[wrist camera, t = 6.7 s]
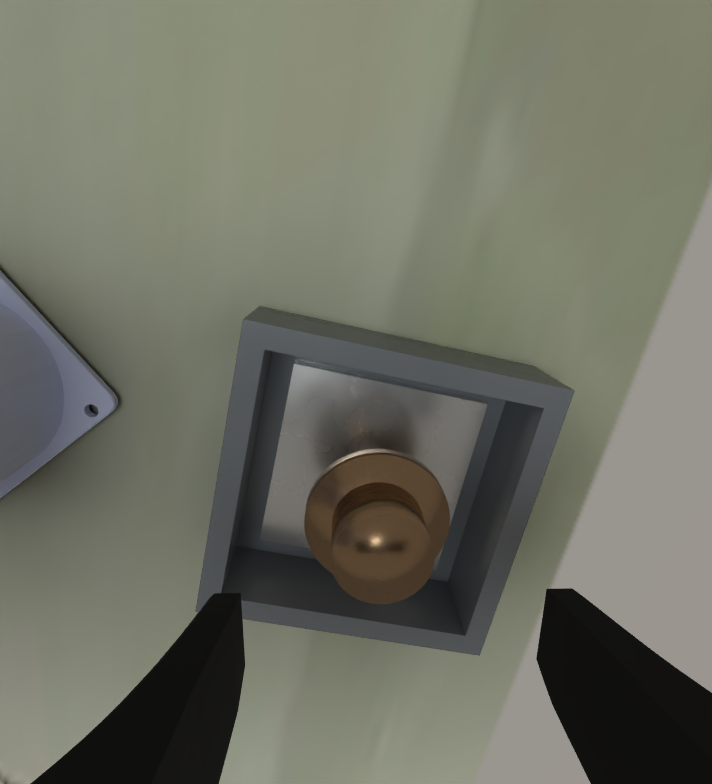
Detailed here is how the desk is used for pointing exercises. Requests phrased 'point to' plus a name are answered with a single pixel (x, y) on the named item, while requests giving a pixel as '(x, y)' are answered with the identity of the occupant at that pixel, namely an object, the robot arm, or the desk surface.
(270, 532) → the plunger
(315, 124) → the desk surface
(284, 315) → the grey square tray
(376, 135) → the desk surface
